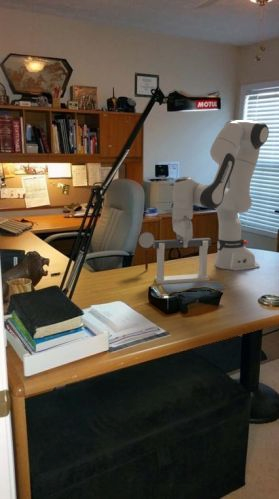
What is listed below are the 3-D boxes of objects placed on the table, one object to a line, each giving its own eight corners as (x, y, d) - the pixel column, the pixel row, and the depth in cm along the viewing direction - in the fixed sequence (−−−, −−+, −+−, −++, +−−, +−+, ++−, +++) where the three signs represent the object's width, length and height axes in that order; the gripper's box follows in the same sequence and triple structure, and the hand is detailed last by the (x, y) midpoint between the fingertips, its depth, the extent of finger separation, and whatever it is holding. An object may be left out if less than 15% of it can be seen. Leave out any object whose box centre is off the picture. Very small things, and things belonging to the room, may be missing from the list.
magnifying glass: (154, 269, 202) (154, 230, 198) (155, 270, 201) (155, 231, 196) (137, 271, 201) (137, 231, 196) (138, 271, 199) (138, 232, 194)
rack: (204, 276, 190) (205, 238, 186) (208, 280, 185) (210, 241, 180) (154, 279, 186) (154, 240, 182) (157, 283, 181) (157, 243, 176)
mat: (217, 282, 182) (217, 280, 182) (225, 289, 173) (225, 288, 173) (161, 285, 178) (161, 284, 178) (166, 293, 168) (166, 292, 168)
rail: (208, 244, 185) (208, 237, 185) (210, 245, 182) (211, 239, 182) (153, 247, 181) (153, 240, 180) (154, 248, 178) (154, 242, 177)
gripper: (196, 217, 169) (196, 249, 172) (183, 211, 188) (182, 239, 192) (182, 218, 168) (181, 250, 171) (170, 211, 187) (169, 240, 191)
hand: (182, 244), depth 182 cm, fingers open, 8 cm apart
